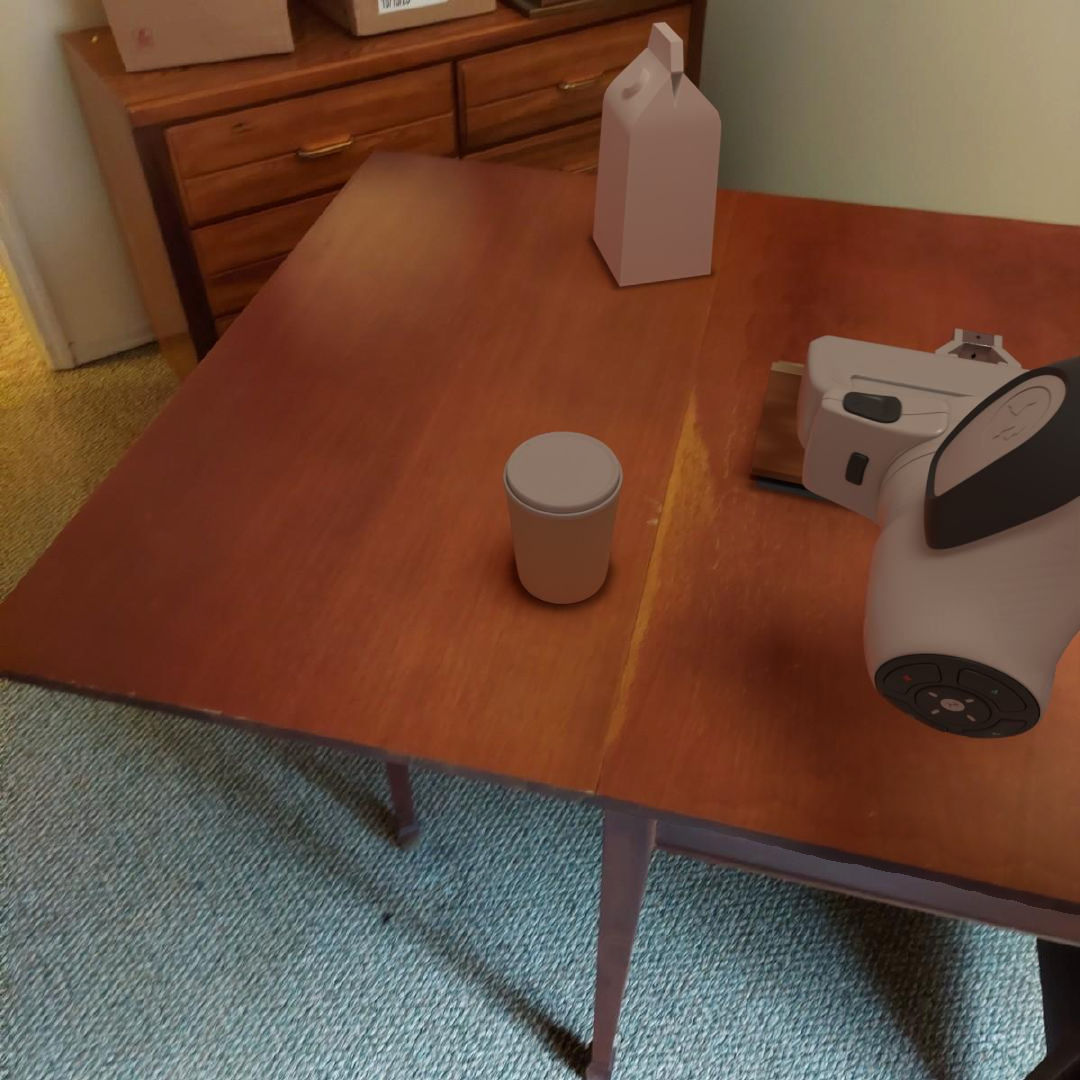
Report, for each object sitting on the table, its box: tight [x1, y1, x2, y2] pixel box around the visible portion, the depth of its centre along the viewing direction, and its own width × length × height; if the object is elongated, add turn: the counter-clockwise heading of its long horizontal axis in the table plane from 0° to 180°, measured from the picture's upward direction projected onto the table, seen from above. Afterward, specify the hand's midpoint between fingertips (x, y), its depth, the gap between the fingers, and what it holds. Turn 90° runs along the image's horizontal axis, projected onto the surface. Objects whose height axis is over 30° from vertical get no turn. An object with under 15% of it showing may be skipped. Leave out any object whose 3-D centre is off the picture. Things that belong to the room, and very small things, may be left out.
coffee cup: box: [502, 431, 624, 605], centre depth 78 cm, size 9×9×12 cm
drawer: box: [749, 360, 805, 484], centre depth 88 cm, size 22×14×13 cm, turn 72°
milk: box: [592, 21, 722, 288], centre depth 110 cm, size 12×12×26 cm
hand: (974, 340), depth 62 cm, fingers closed
